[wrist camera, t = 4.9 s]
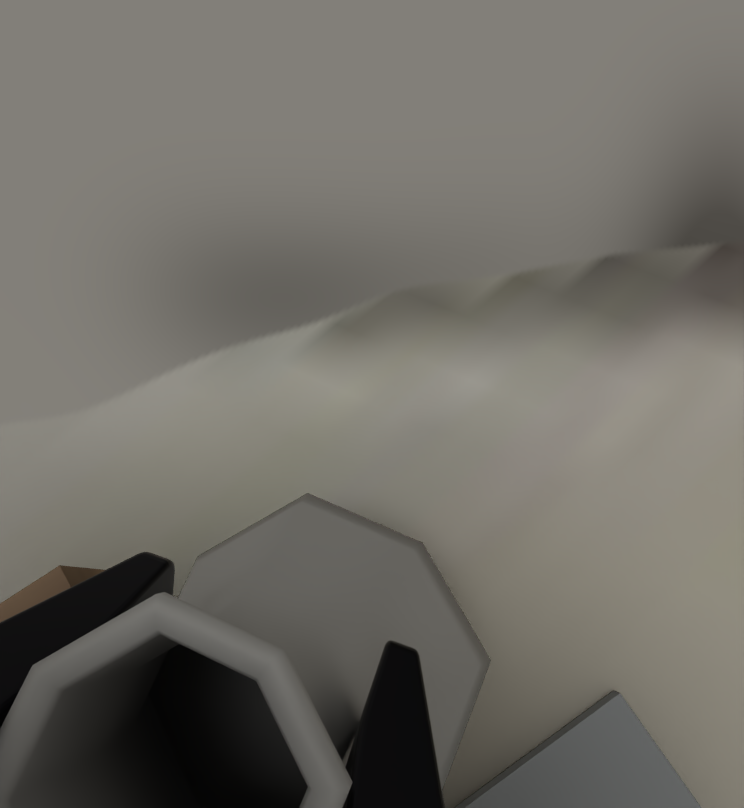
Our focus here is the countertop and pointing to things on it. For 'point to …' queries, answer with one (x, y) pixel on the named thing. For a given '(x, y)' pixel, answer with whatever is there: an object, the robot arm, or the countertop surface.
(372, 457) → the countertop surface
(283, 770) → the flask
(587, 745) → the grey coaster
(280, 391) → the countertop surface
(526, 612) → the countertop surface
